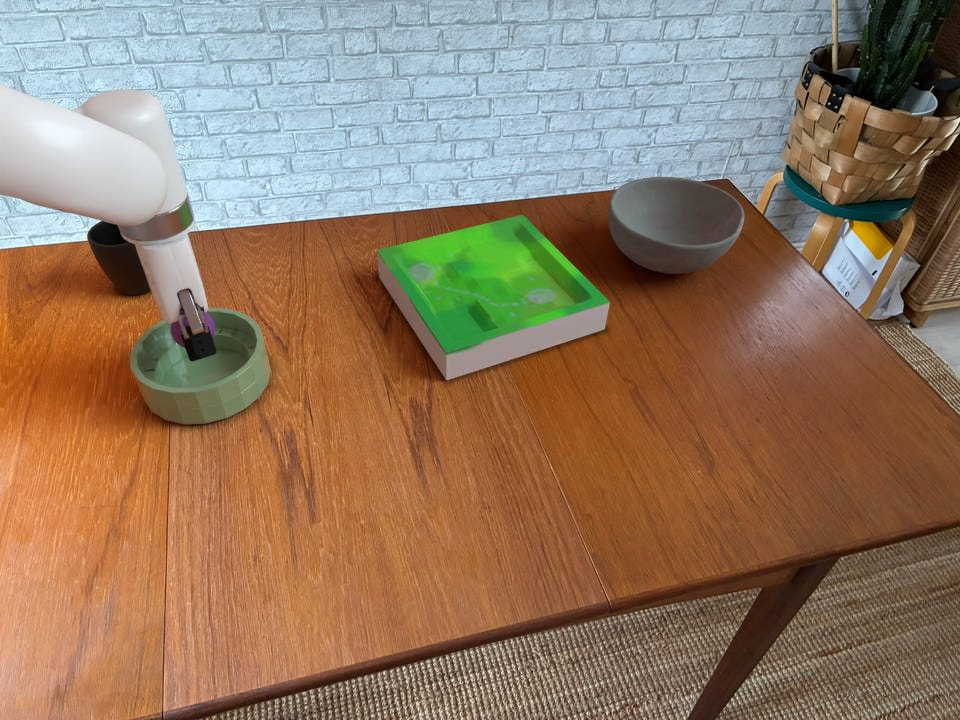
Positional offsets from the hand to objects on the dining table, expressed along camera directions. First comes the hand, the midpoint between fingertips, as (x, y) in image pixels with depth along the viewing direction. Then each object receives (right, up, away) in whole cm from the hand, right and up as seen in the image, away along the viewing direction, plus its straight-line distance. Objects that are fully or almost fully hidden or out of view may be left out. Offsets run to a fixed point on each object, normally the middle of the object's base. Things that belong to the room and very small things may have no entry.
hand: (196, 341), depth 86 cm
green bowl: (0, -5, +5) cm, 7 cm away
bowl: (+65, +14, +29) cm, 72 cm away
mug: (-15, +9, +20) cm, 26 cm away
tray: (+36, +6, +19) cm, 41 cm away
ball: (0, 0, 0) cm, 0 cm away
